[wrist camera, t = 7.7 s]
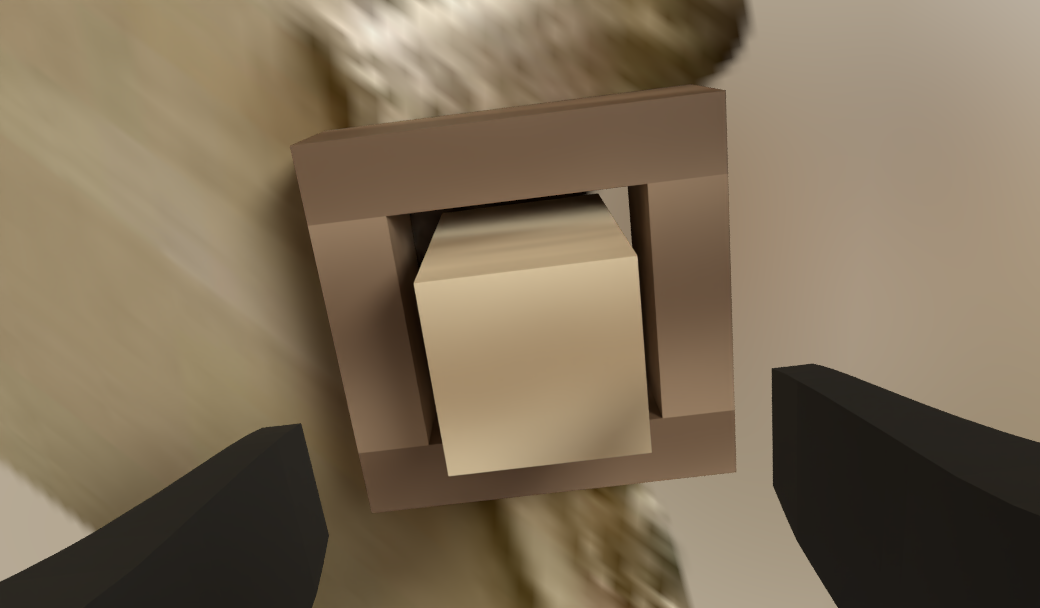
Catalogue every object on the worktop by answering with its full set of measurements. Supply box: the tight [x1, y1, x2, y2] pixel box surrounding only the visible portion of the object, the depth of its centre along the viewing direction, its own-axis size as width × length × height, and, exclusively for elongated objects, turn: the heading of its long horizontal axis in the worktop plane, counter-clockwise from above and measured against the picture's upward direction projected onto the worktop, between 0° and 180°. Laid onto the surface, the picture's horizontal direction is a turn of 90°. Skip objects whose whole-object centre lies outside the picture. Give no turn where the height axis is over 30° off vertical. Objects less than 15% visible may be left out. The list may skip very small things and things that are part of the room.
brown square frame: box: [290, 84, 736, 513], centre depth 18 cm, size 9×9×3 cm
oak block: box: [414, 193, 652, 476], centre depth 16 cm, size 4×4×6 cm
